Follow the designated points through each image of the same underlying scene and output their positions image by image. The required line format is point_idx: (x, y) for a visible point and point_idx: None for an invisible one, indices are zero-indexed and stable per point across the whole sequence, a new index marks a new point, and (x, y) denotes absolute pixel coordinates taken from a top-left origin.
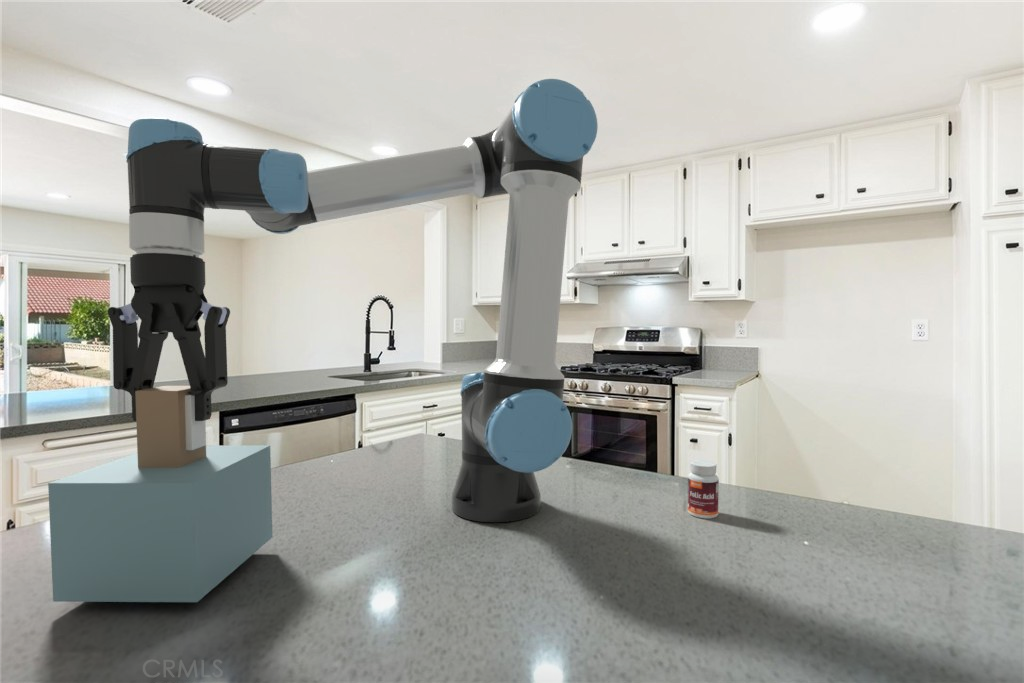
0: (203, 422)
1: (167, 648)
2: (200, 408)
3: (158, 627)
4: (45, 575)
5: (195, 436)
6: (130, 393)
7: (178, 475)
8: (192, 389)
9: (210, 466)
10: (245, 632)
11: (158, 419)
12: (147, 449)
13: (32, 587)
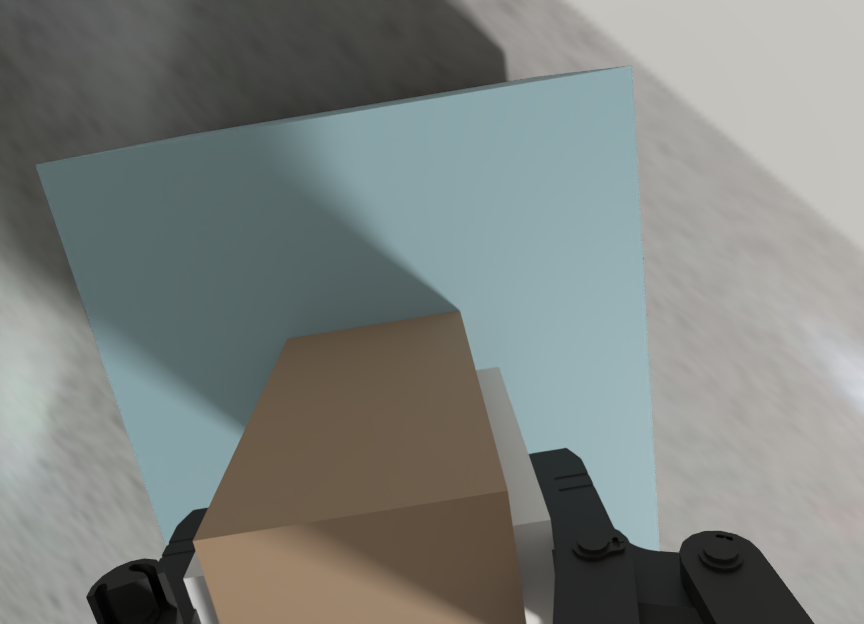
0: None
1: (149, 5)
2: (187, 555)
3: (244, 76)
4: (729, 231)
5: None
6: (607, 527)
7: (192, 244)
8: (167, 619)
9: (177, 371)
10: (35, 93)
11: (357, 418)
12: (419, 343)
13: (704, 176)
